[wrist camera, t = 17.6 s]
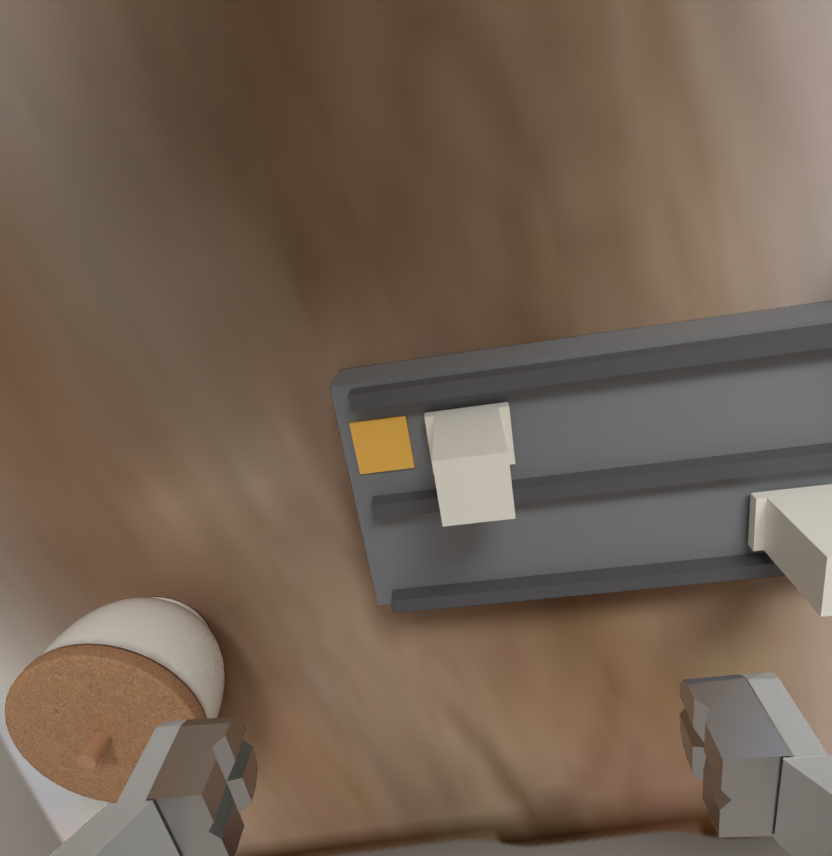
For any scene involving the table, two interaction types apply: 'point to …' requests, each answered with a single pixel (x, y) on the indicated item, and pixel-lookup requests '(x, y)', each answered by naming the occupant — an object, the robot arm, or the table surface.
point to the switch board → (594, 457)
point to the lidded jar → (113, 691)
